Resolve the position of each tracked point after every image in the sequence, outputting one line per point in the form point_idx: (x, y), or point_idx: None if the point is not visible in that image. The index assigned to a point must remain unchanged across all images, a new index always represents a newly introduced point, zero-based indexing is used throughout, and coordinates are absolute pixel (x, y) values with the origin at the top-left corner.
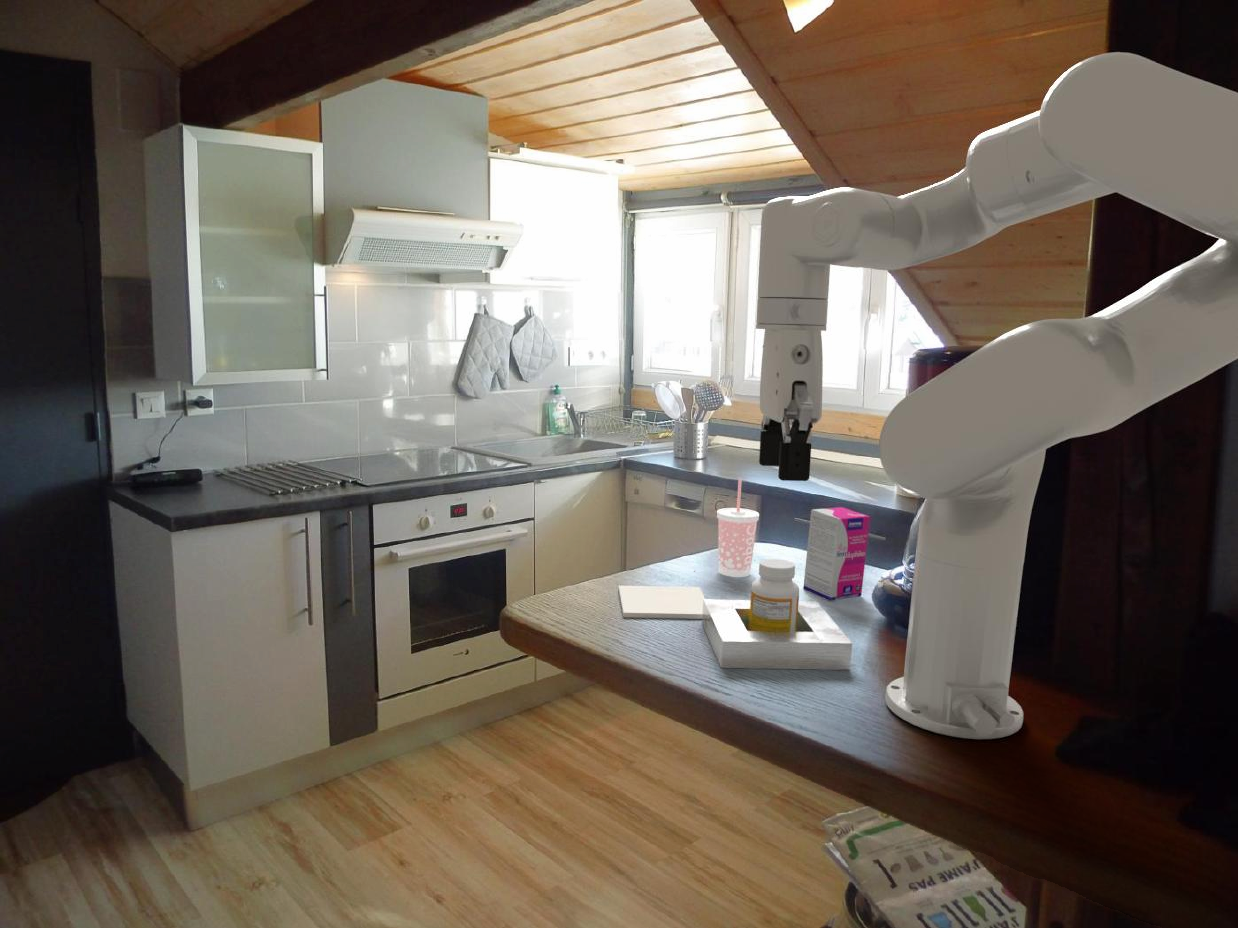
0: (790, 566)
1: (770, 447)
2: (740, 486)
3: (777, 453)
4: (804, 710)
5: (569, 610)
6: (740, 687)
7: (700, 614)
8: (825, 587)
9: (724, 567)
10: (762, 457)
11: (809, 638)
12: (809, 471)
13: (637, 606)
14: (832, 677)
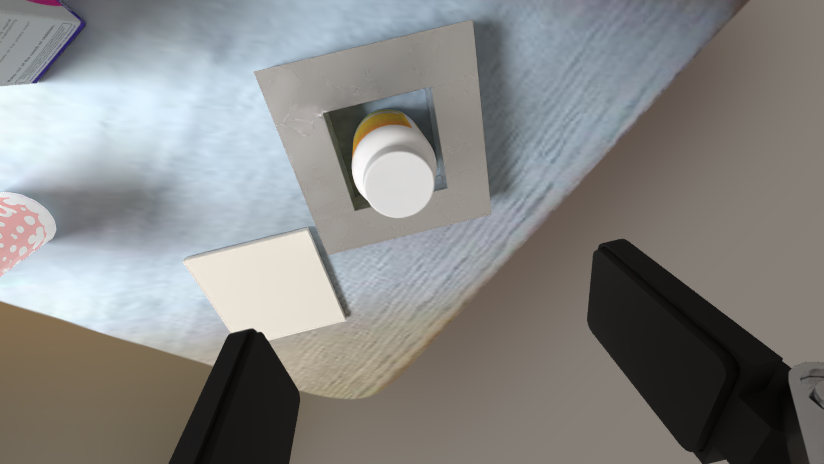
0: (415, 160)
1: (270, 450)
2: None
3: (265, 401)
4: (591, 100)
5: (343, 363)
6: (532, 175)
7: (313, 244)
8: (57, 35)
9: (44, 241)
10: (295, 421)
11: (462, 96)
12: (646, 255)
13: (316, 313)
14: (491, 55)
